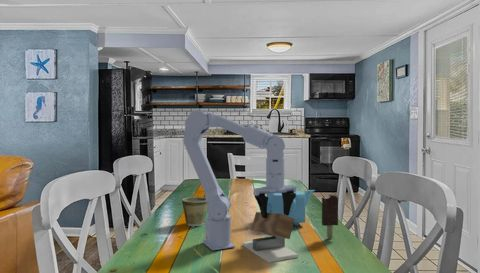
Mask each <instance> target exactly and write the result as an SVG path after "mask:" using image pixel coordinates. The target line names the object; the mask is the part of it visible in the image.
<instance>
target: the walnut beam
mask: <svg viewBox="0 0 480 273" xmlns="http://www.w3.org/2000/svg"><path fill="white" fill-rule="evenodd" d="M294 220H295V219H293V218H291V217H288V216H286V215H283V214H277V213H267V218H263V217H262V216H261V211H255V215H254V218H253V221H252V226H251V229H250V230H251V231H253V232H256V233H259V234H262V235H266V236H269V237H272V236H275V237H281V238H285V239H288V240H291V236H292V232H293V227H294V225H293V224H294Z"/></svg>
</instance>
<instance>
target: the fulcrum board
mask: <svg viewBox="0 0 480 273" xmlns="http://www.w3.org/2000/svg"><path fill="white" fill-rule="evenodd" d="M285 239H286V238H281V237H275V236H266V237H259V238H254V239H253V238H252V240H248V241H242V245H241V246H243V247H244V248H246V249H247V250H249V251H250V252H252V254H255V255H256V256H257V257H259V258H260V259H262V260H263V261H265V262H266V263H274V262H279V261H280V262H281V261H286V260H292V259H296V258H299V253H297V252H295V251H293V250H291V249H290V248H288V247H286V240H285Z"/></svg>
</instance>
